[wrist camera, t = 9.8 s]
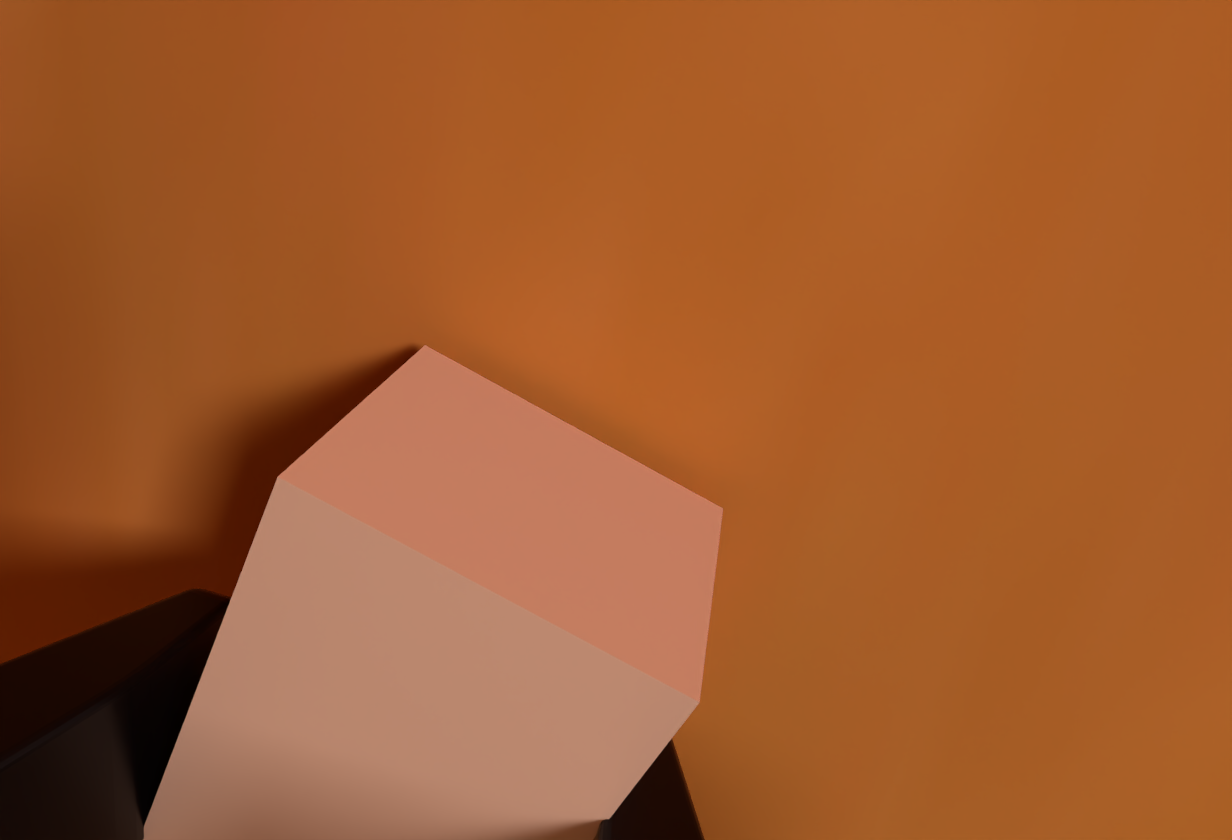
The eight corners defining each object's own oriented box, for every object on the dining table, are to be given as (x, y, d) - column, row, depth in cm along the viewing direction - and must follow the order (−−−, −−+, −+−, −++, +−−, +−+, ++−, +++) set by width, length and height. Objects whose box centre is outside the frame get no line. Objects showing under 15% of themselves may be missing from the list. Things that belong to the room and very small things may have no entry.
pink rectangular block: (723, 508, 8) (699, 701, 6) (500, 831, 10) (418, 1064, 8) (426, 345, 8) (278, 476, 5) (264, 709, 10) (112, 909, 8)
